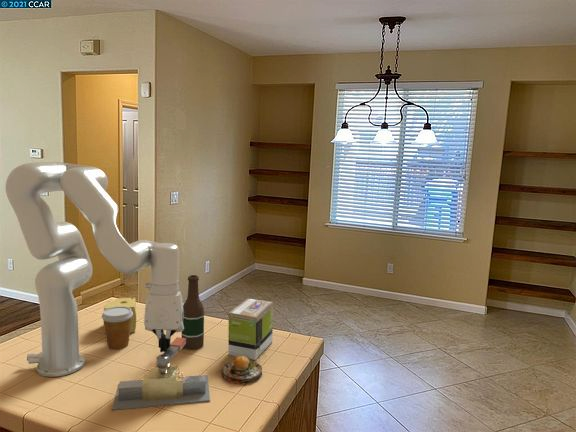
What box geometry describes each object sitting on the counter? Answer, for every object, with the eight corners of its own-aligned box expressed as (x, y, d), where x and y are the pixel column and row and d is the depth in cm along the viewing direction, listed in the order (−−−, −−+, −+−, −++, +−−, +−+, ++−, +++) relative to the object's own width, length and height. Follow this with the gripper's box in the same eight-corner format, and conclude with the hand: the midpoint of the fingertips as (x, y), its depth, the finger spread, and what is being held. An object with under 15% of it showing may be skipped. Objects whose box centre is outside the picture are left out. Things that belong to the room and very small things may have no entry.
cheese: (106, 324, 159) (105, 298, 157) (137, 322, 162) (137, 296, 160) (103, 336, 149) (102, 308, 147) (136, 333, 152) (136, 306, 151)
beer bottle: (198, 351, 140) (199, 280, 137) (176, 348, 142) (177, 278, 138) (208, 341, 148) (209, 274, 144) (186, 338, 149) (187, 271, 146)
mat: (112, 410, 108) (112, 408, 107) (120, 382, 120) (120, 381, 120) (209, 401, 113) (209, 400, 113) (207, 376, 126) (207, 374, 125)
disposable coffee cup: (123, 336, 149) (123, 303, 147) (139, 345, 143) (138, 311, 141) (96, 345, 142) (96, 310, 140) (111, 355, 136) (111, 318, 134)
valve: (117, 405, 110) (117, 374, 108) (121, 392, 115) (120, 363, 114) (205, 397, 115) (206, 368, 113) (204, 385, 120) (205, 357, 119)
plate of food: (268, 369, 131) (269, 346, 130) (251, 388, 120) (252, 363, 119) (233, 361, 135) (234, 339, 134) (213, 379, 125) (214, 355, 123)
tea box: (246, 337, 153) (247, 297, 151) (273, 342, 150) (274, 301, 148) (227, 355, 139) (228, 311, 137) (255, 361, 136) (257, 316, 134)
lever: (166, 369, 112) (166, 360, 112) (154, 367, 112) (154, 359, 112) (186, 344, 126) (186, 336, 126) (176, 343, 127) (176, 335, 126)
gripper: (133, 291, 116) (133, 355, 119) (189, 293, 116) (188, 357, 119) (142, 282, 123) (142, 343, 126) (194, 284, 124) (193, 345, 126)
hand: (164, 349), depth 123 cm, fingers closed
